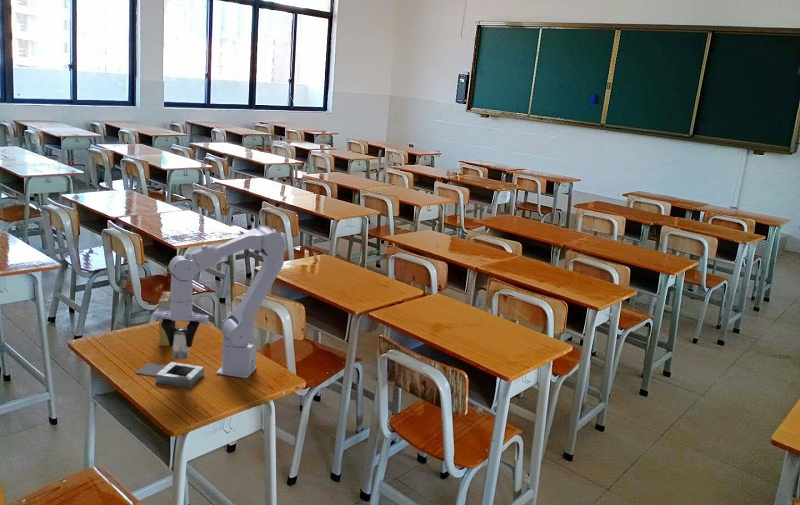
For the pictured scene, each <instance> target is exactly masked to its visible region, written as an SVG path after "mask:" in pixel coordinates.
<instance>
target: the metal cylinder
mask: <svg viewBox="0 0 800 505" xmlns="http://www.w3.org/2000/svg"><path fill="white" fill-rule="evenodd" d="M189 356H190V347H188V330H187V326H176V327H175V328H173V346H172V358H173V359H175V360H185V359H188V358H189Z"/></svg>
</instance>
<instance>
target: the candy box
mask: <svg viewBox="0 0 800 505" xmlns="http://www.w3.org/2000/svg"><path fill="white" fill-rule="evenodd" d="M158 311H159V312H163V311H171V291H163V292H162V294H161V296H160V298H159V300H158ZM162 321H163V320H158V322H159V323H158V324H159V326H158V327H159V328H158V329H159V346H160V347H171V346H170V345H169V341H168V338H167V335H166V333H165V331H164V329H163V328H162V325H161V324H162ZM175 327H177V321H175Z"/></svg>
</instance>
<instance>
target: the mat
mask: <svg viewBox="0 0 800 505" xmlns="http://www.w3.org/2000/svg"><path fill="white" fill-rule="evenodd" d="M166 366H167V365H164V364H158V363H152V362H151V363H150V362H147V363H146V364H145V365H143V366H142V367H141V368H139V369H138V370H137V371H135V374H136V375H142V376H149V377H155V378H156V374H157V373H158V372H160V371H161V370H162V369H163V368H164V367H166Z"/></svg>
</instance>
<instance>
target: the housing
mask: <svg viewBox="0 0 800 505" xmlns="http://www.w3.org/2000/svg"><path fill="white" fill-rule="evenodd" d="M165 366H166V367H164V368H163V369H162V370H161V371H160V372H158V373H157V374H156V377H155V384H161V385H169V386H174V387H181V388H187V389H191V388H193V386H194V385H195V384H196V383H197V382H198V381H199V380H200V379H201V378H202V377H204V376H205V367H204V366H200V365H196V364H195V365H193V364H188V363H181V362H175V361H171V362H170V363H168V364H167V365H165ZM177 374H180V375H177ZM184 375H185V376H184Z"/></svg>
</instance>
